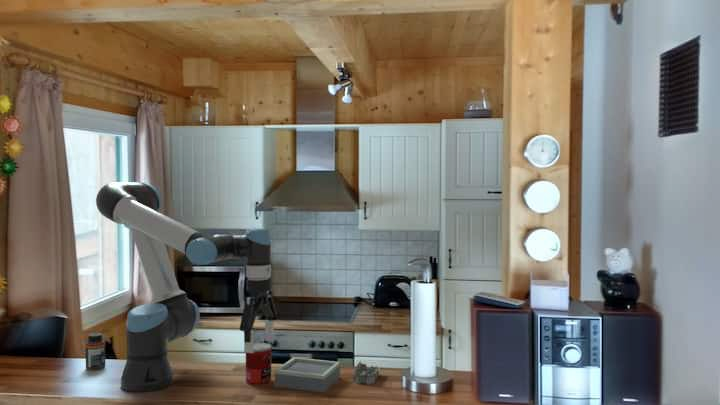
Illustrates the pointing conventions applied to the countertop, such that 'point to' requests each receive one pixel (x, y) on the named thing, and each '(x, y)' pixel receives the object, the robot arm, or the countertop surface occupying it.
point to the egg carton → (365, 374)
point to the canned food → (259, 364)
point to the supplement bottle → (95, 352)
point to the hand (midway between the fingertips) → (259, 346)
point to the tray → (307, 374)
